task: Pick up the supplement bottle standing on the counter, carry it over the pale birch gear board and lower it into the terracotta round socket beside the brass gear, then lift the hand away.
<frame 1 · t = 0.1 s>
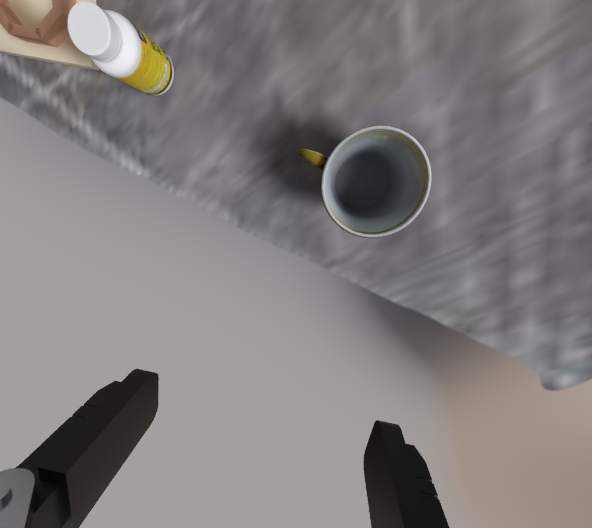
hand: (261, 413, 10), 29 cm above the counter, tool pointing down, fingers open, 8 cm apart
ceramic cup: (350, 178, 35), on the counter
supplement bottle: (155, 71, 33), on the counter
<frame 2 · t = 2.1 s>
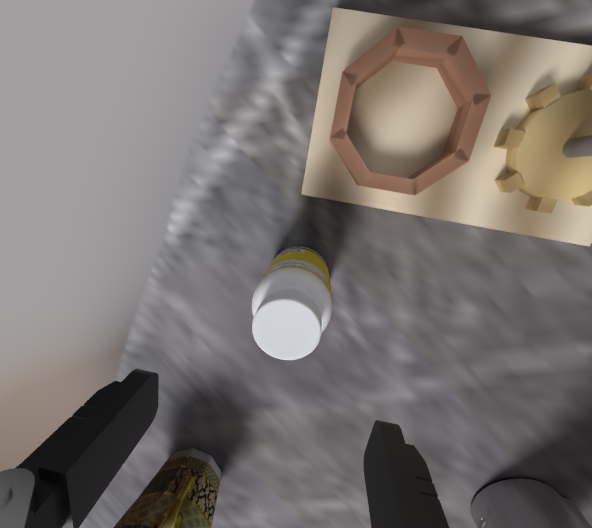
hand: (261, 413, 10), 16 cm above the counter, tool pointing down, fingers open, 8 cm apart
ceramic cup: (199, 458, 33), on the counter
supplement bottle: (300, 273, 25), on the counter
gear board: (462, 137, 20), on the counter
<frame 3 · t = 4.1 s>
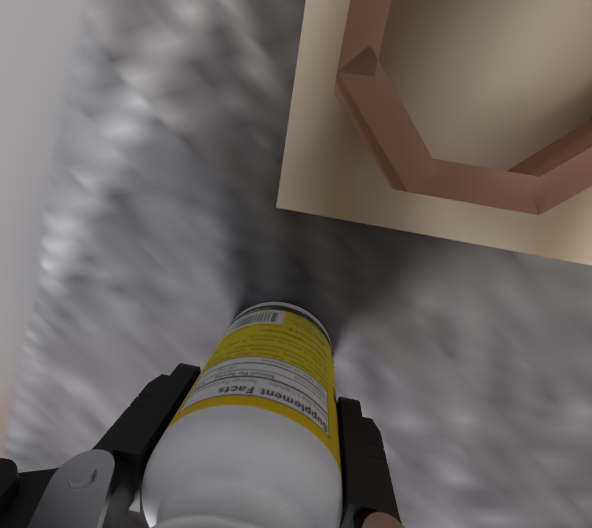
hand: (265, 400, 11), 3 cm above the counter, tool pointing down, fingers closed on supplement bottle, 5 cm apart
supplement bottle: (280, 344, 14), on the counter, touching gripper
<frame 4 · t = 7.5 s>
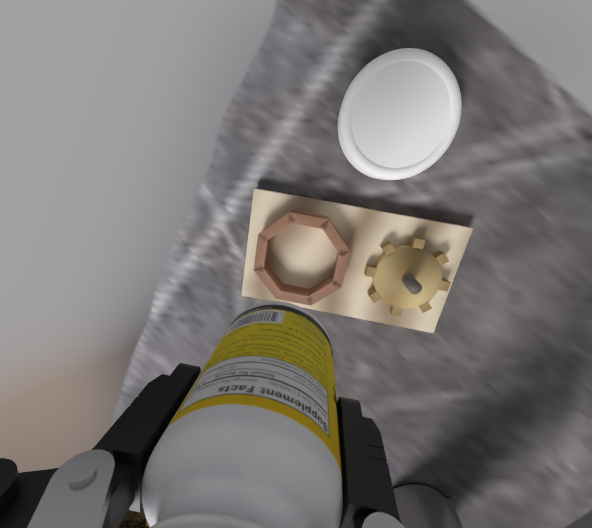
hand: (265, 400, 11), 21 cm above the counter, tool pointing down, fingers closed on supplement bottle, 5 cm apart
coaster: (390, 124, 26), on the counter
ceramic cup: (179, 470, 43), on the counter
supplement bottle: (280, 344, 14), point 17 cm above the counter, touching gripper
gear board: (347, 261, 30), on the counter
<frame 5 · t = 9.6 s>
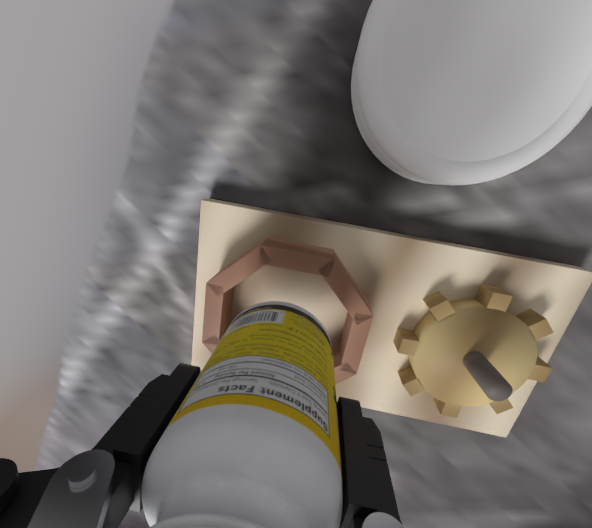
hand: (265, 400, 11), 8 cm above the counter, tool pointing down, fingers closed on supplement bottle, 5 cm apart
coaster: (447, 83, 14), on the counter
supplement bottle: (280, 344, 14), point 5 cm above the counter, touching gripper
gear board: (363, 319, 18), on the counter
when the fingers open (6 cm above the counter, at t = 11.2 s): supplement bottle stays where it is, resting on gear board.
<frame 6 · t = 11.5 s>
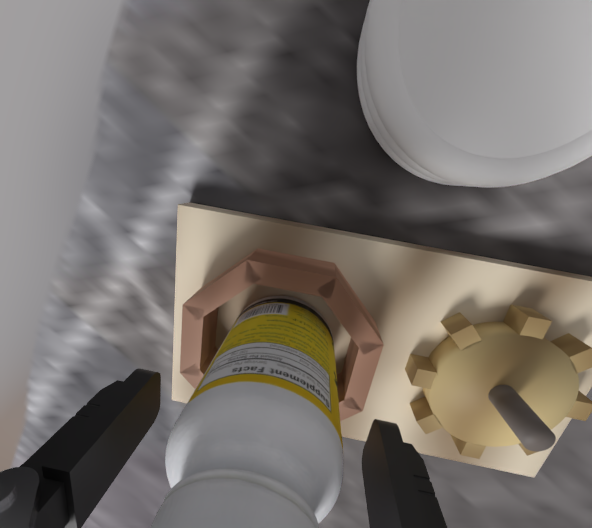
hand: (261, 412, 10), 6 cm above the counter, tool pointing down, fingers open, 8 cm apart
coaster: (473, 63, 12), on the counter
supplement bottle: (284, 336, 15), point 1 cm above the counter, touching gear board
gear board: (370, 341, 16), on the counter
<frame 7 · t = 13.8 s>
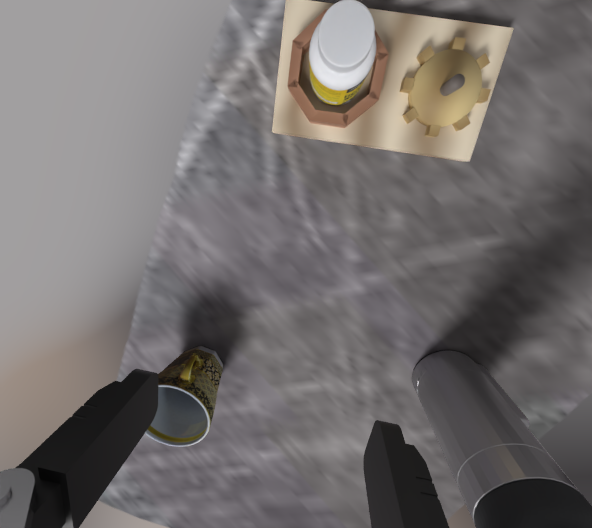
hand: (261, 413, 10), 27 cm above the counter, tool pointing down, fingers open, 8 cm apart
ceramic cup: (205, 355, 43), on the counter
supplement bottle: (336, 78, 29), point 1 cm above the counter, touching gear board
gear board: (380, 87, 29), on the counter
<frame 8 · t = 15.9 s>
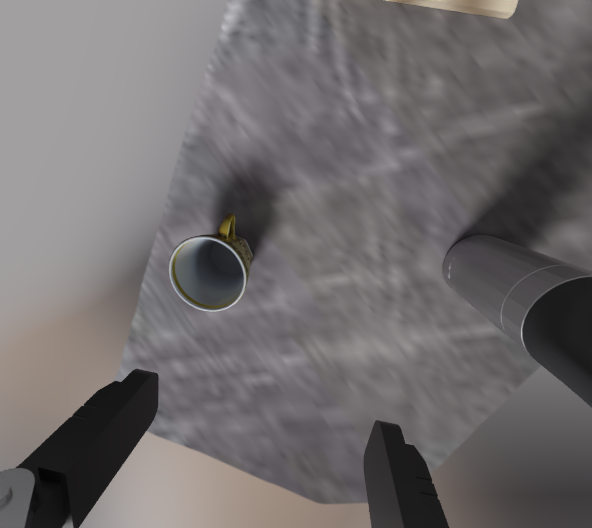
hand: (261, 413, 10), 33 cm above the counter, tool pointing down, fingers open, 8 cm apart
ceramic cup: (235, 245, 43), on the counter
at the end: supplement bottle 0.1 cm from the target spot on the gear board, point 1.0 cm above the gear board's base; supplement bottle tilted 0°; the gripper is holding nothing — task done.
